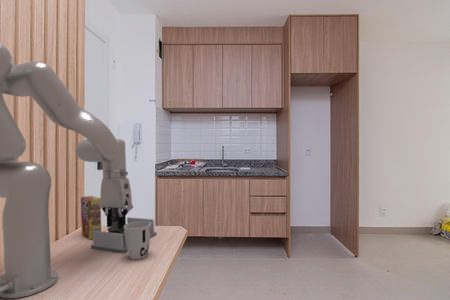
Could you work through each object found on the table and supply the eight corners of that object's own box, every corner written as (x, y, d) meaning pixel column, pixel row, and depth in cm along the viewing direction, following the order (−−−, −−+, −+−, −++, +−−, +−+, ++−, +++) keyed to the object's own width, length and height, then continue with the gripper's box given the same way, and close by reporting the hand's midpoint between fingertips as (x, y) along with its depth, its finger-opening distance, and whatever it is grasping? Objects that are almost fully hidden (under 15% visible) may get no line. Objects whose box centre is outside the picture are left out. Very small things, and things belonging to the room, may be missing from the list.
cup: (143, 262, 82) (142, 229, 81) (119, 260, 83) (118, 228, 83) (156, 251, 89) (155, 221, 89) (133, 250, 91) (132, 220, 91)
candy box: (102, 236, 105) (101, 197, 105) (91, 240, 102) (89, 199, 101) (92, 232, 111) (91, 195, 111) (81, 235, 108) (79, 196, 107)
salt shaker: (107, 242, 92) (106, 207, 91) (107, 237, 97) (106, 203, 97) (126, 239, 94) (125, 205, 94) (125, 234, 99) (124, 201, 99)
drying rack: (124, 253, 89) (123, 235, 89) (91, 248, 93) (90, 231, 93) (156, 234, 106) (156, 219, 106) (126, 231, 111) (126, 217, 111)
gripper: (141, 173, 96) (143, 225, 96) (103, 173, 101) (105, 221, 102) (127, 176, 89) (129, 232, 89) (87, 175, 94) (89, 228, 95)
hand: (116, 226), depth 95 cm, fingers closed on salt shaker, 4 cm apart
